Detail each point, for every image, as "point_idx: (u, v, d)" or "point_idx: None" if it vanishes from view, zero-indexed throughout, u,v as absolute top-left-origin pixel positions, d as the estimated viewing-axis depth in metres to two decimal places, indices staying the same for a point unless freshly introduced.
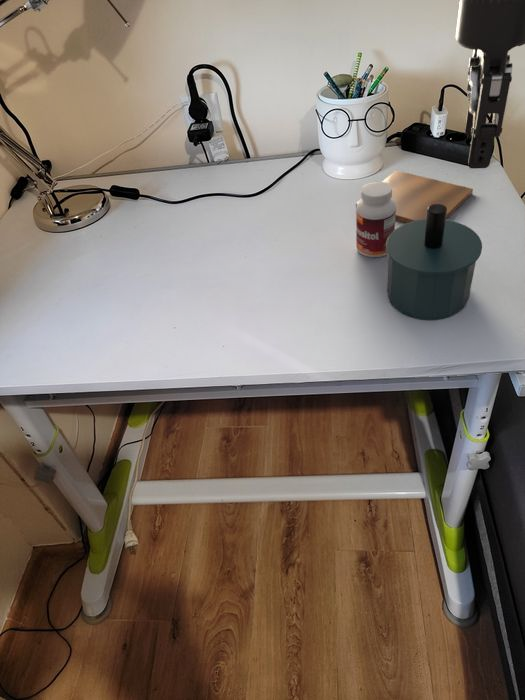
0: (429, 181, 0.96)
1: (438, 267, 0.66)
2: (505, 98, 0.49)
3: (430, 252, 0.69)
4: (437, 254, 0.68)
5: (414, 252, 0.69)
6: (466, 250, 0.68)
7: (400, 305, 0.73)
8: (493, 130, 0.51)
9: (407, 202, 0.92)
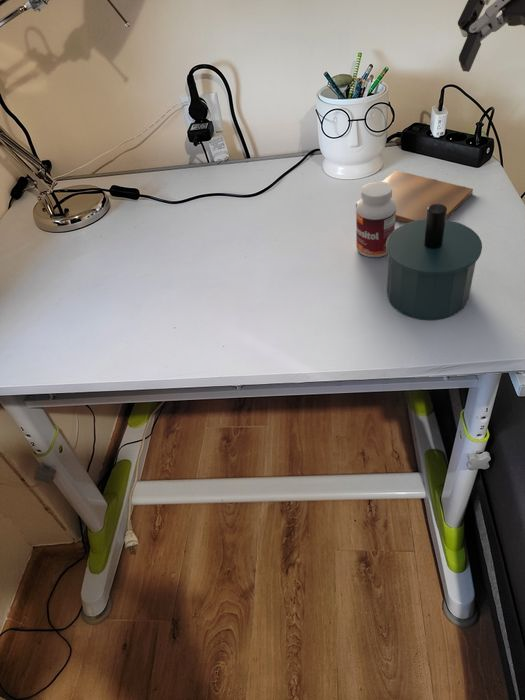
0: (429, 181, 0.96)
1: (438, 267, 0.66)
2: None
3: (430, 252, 0.69)
4: (437, 254, 0.68)
5: (414, 252, 0.69)
6: (466, 250, 0.68)
7: (400, 305, 0.73)
8: None
9: (407, 202, 0.92)
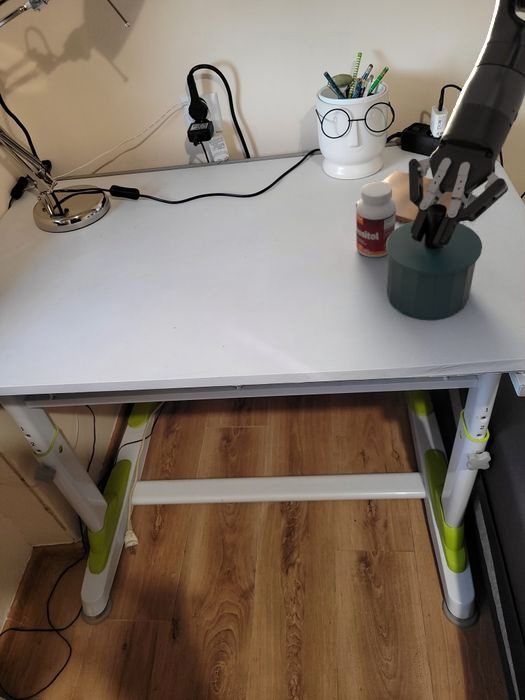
0: (429, 181, 0.96)
1: (438, 267, 0.66)
2: (409, 175, 0.69)
3: (430, 252, 0.69)
4: (437, 254, 0.68)
5: (414, 252, 0.69)
6: (466, 250, 0.68)
7: (400, 305, 0.73)
8: None
9: (407, 202, 0.92)
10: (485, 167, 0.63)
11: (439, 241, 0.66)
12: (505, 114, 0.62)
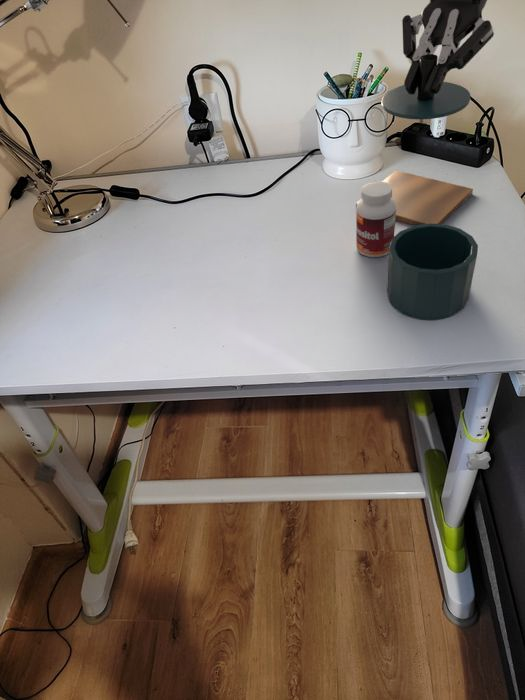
0: (429, 181, 0.96)
1: (429, 112, 0.72)
2: None
3: (422, 103, 0.74)
4: (429, 104, 0.73)
5: (407, 104, 0.74)
6: (455, 99, 0.73)
7: (400, 305, 0.73)
8: None
9: (407, 202, 0.92)
10: (472, 13, 0.69)
11: (430, 88, 0.71)
12: None
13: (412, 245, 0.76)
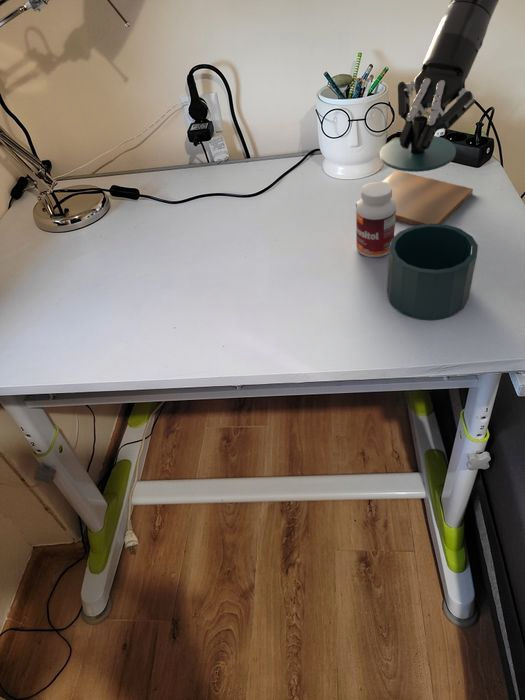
0: (429, 181, 0.96)
1: (420, 165, 0.84)
2: (398, 95, 0.86)
3: (415, 156, 0.86)
4: (420, 157, 0.86)
5: (402, 157, 0.87)
6: (443, 154, 0.86)
7: (400, 305, 0.73)
8: None
9: (407, 202, 0.92)
10: (457, 83, 0.81)
11: (421, 145, 0.84)
12: (471, 40, 0.79)
13: (412, 245, 0.76)
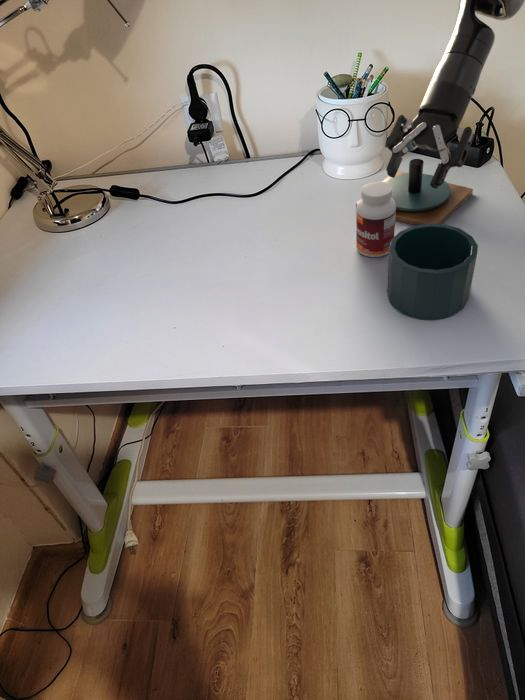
0: None
1: (417, 205, 0.89)
2: (394, 126, 0.92)
3: (412, 196, 0.92)
4: (417, 197, 0.91)
5: (400, 196, 0.92)
6: (438, 194, 0.91)
7: (400, 305, 0.73)
8: None
9: None
10: (451, 127, 0.86)
11: (435, 182, 0.87)
12: (465, 89, 0.84)
13: (412, 245, 0.76)
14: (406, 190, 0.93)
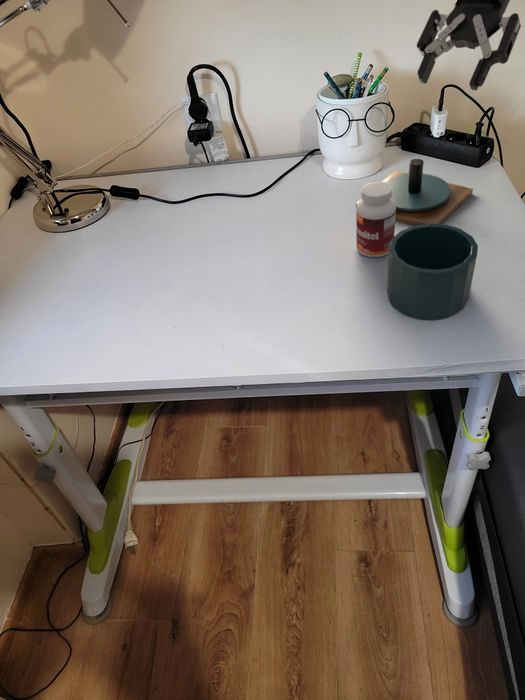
0: None
1: (417, 205, 0.89)
2: None
3: (412, 196, 0.92)
4: (417, 197, 0.91)
5: (400, 196, 0.92)
6: (438, 194, 0.91)
7: (400, 305, 0.73)
8: None
9: None
10: (494, 16, 0.75)
11: (475, 81, 0.76)
12: None
13: (412, 245, 0.76)
14: (406, 190, 0.93)
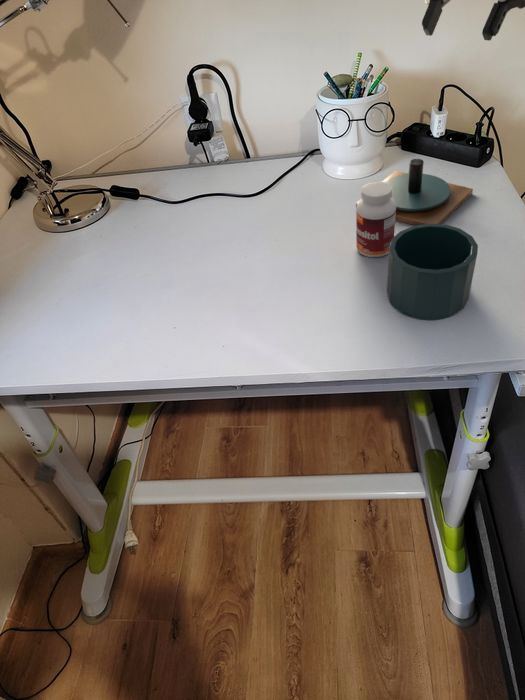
0: None
1: (417, 205, 0.89)
2: None
3: (412, 196, 0.92)
4: (417, 197, 0.91)
5: (400, 196, 0.92)
6: (438, 194, 0.91)
7: (400, 305, 0.73)
8: None
9: None
10: None
11: (489, 29, 0.66)
12: None
13: (412, 245, 0.76)
14: (406, 190, 0.93)
